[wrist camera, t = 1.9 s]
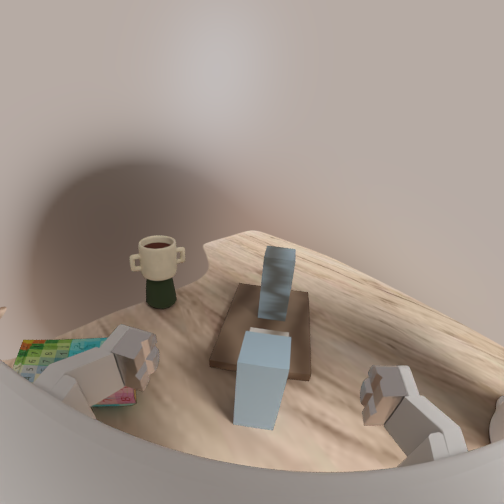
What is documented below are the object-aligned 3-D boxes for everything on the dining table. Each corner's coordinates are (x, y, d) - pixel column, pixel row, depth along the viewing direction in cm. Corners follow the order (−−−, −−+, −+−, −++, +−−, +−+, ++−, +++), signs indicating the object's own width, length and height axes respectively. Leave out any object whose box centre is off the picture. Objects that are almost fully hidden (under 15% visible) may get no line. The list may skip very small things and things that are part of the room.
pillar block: (276, 400, 34) (291, 337, 29) (272, 430, 29) (289, 369, 24) (240, 395, 34) (245, 330, 30) (233, 424, 30) (237, 362, 25)
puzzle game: (132, 392, 27) (2, 388, 21) (140, 413, 29) (17, 409, 22) (131, 332, 37) (21, 335, 31) (136, 354, 39) (31, 356, 32)
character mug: (180, 288, 59) (178, 231, 54) (192, 305, 53) (191, 244, 48) (132, 298, 53) (125, 239, 48) (140, 317, 48) (131, 253, 43)
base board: (306, 298, 59) (317, 240, 54) (308, 380, 37) (330, 307, 32) (238, 288, 61) (243, 230, 56) (209, 366, 39) (208, 291, 34)
